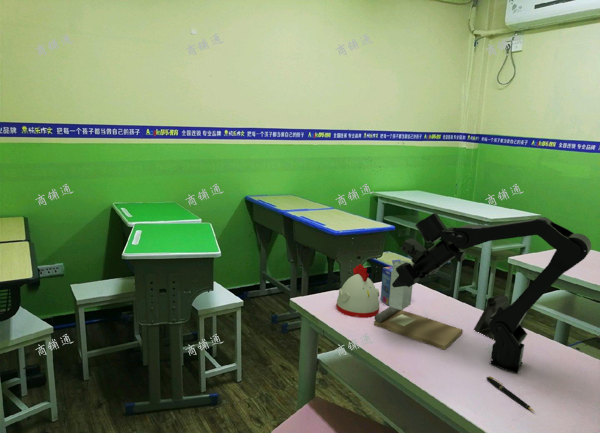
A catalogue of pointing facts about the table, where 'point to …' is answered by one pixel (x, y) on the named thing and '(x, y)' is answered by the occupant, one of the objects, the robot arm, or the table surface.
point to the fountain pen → (507, 392)
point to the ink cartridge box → (386, 283)
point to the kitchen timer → (358, 295)
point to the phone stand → (489, 315)
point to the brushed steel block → (399, 290)
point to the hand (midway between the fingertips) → (397, 283)
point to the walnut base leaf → (417, 327)
